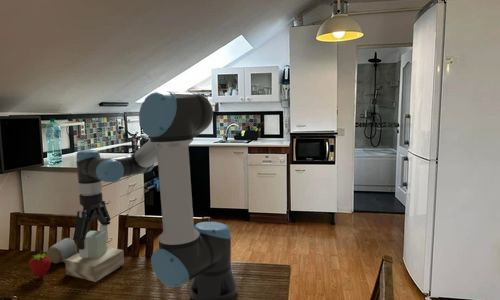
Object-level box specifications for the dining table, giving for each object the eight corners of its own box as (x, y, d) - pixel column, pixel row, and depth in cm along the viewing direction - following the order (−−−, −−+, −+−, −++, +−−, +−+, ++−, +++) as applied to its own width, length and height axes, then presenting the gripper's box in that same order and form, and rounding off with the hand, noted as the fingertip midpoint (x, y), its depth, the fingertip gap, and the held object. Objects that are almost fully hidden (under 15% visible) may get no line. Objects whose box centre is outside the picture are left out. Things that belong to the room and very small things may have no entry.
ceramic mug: (45, 263, 131) (44, 244, 130) (62, 254, 139) (61, 236, 138) (68, 267, 128) (67, 248, 127) (84, 258, 136) (83, 239, 135)
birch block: (124, 264, 131) (123, 250, 130) (95, 282, 118) (94, 266, 117) (96, 258, 136) (95, 244, 135) (66, 275, 123) (65, 259, 122)
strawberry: (40, 271, 125) (37, 246, 123) (56, 274, 123) (54, 248, 121) (25, 280, 119) (22, 253, 118) (42, 283, 117) (40, 255, 116)
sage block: (106, 251, 129) (105, 231, 128) (97, 258, 123) (96, 237, 122) (92, 250, 130) (90, 230, 128) (82, 257, 124) (80, 236, 123)
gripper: (99, 184, 135) (103, 235, 138) (57, 202, 111) (63, 264, 114) (117, 184, 134) (120, 235, 138) (79, 203, 110) (84, 265, 113)
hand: (94, 248), depth 126 cm, fingers open, 13 cm apart
